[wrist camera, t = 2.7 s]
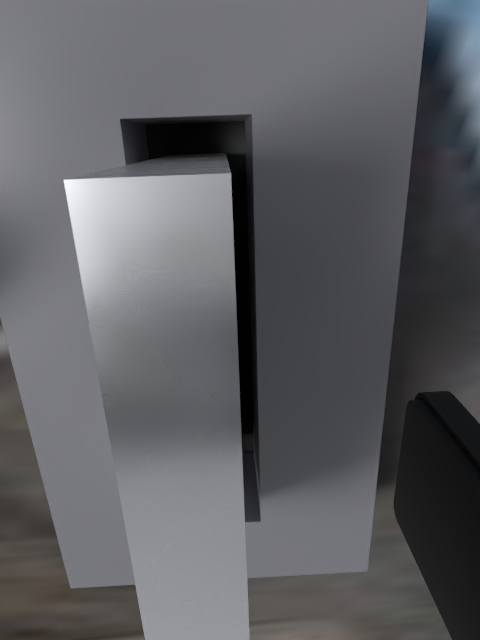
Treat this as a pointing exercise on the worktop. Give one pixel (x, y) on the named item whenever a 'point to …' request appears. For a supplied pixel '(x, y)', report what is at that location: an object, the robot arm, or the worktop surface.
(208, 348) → the cover plate
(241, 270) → the worktop surface
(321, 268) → the slot holder
